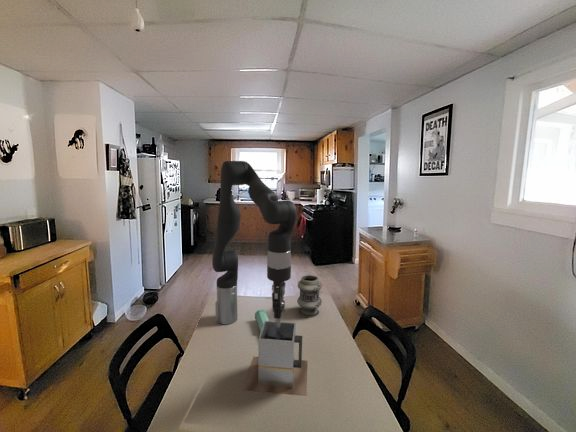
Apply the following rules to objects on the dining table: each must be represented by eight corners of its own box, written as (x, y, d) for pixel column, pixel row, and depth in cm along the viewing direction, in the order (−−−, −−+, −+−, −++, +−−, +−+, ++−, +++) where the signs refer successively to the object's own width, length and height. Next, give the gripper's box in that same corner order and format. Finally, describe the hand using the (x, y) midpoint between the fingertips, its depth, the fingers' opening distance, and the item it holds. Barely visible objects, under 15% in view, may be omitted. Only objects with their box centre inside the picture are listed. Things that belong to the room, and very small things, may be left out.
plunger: (263, 356, 88) (263, 307, 85) (267, 340, 96) (267, 295, 94) (289, 358, 87) (290, 308, 85) (291, 342, 96) (292, 296, 93)
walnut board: (242, 393, 87) (242, 390, 86) (253, 359, 102) (253, 356, 102) (306, 399, 85) (306, 395, 85) (307, 363, 101) (307, 360, 100)
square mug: (258, 385, 88) (258, 340, 86) (264, 361, 99) (264, 320, 97) (300, 389, 87) (301, 343, 84) (301, 364, 98) (303, 323, 96)
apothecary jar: (298, 305, 145) (299, 272, 142) (321, 307, 143) (322, 274, 140) (295, 317, 133) (296, 281, 130) (320, 319, 131) (322, 283, 128)
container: (276, 338, 105) (264, 307, 129) (262, 346, 104) (252, 312, 128) (282, 350, 107) (268, 317, 131) (268, 358, 106) (257, 323, 129)
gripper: (270, 256, 95) (270, 303, 97) (263, 271, 81) (263, 325, 83) (292, 257, 94) (291, 304, 97) (289, 272, 80) (287, 327, 83)
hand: (278, 314), depth 90 cm, fingers closed on plunger, 4 cm apart
